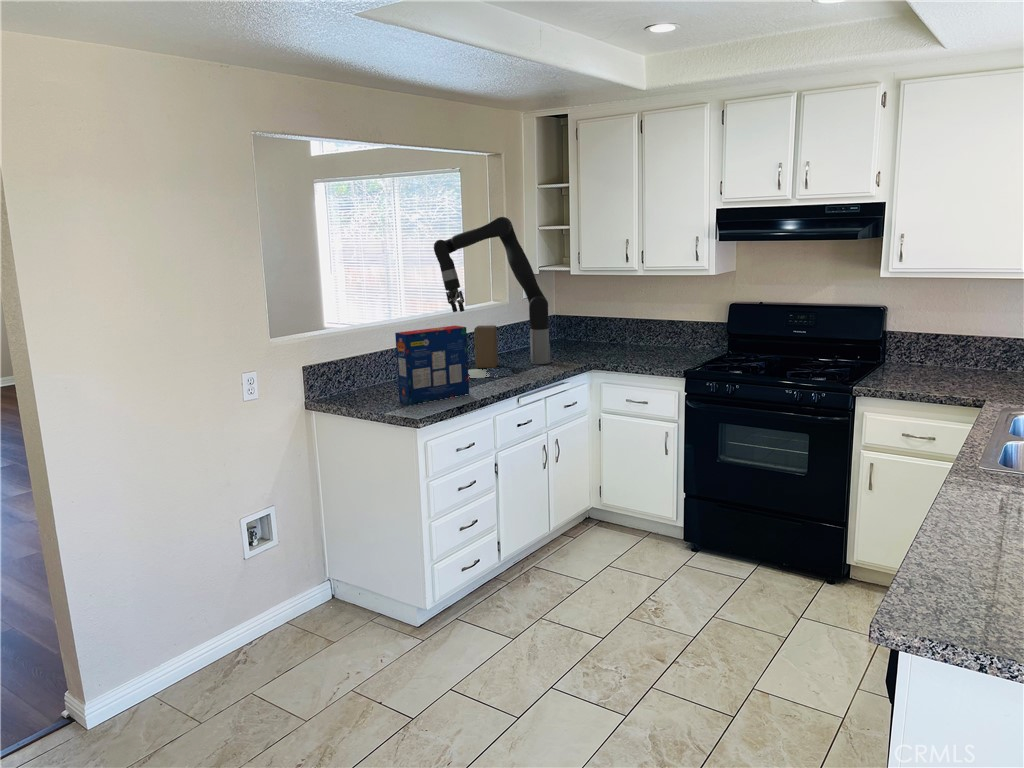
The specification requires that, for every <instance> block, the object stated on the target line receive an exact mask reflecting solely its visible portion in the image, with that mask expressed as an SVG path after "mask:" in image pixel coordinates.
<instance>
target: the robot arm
mask: <svg viewBox="0 0 1024 768" xmlns="http://www.w3.org/2000/svg"><path fill="white" fill-rule="evenodd" d="M493 238H499V239H500V241H501V243H502V245H503V247H504V248H505V254H506V257H507V261H508V264H509V267H510V269H511V271H512V274H513V275H514V277H515V279H516V280H517V282H518V284H519V285H520V286H521V288H522V289H523V291H524V293H525V295H526V298H527V300H528V303H529V304H528V310H529V311H528V312H529V313H528V314H529V316H528V317H529V333H530V334H529V340H530V364H532V365H546V364H551V344H550V339H549V338H550V336H549V334H550V333H549V327H550V326H549V322H550V321H549V301H548V300H547V298H546V296H545V295H544V294H543V292H542V290H541V288H540V286H539V285H538V282H537V279H536V276H535V272H534V271H533V268H532V266H531V264H530V262H529V260H528V258H527V256H526V254H525V252H524V250H523V248H522V246H521V244H520V242H519V240H518V238H517V235H516V232H515V229H514V226H513V224H512V221H511V220H510V219H509V218H507V217H505V216H500V217H496V218H495V219H494V220H492V221H490V222H489V223H487V224H485V225H483V226H480V227H478V228H474V229H470V230H466V231H463V232H461V233H458V234H454V235H453V236H452V237H451V238H448V239H444V240H443V239H438V240H436V241H435V242H434V243H433V252H434V255H435V257H436V260H437V262H438V264H439V268H440V272H441V277H442V282H443V285H444V290H445V295H446V299H447V303H448V305H449V304H450V305H451V309H452V312H453V313H457V312H458V309H459V312H461V313H462V312H464V311H465V307H464V303H465V299H464V298H465V297H464V295H463V294H464V293H463V292H462V290H459V288H461V284H460V280H459V276H458V273H457V271H456V270H457V269H456V267H455V264H454V260H453V259H452V257H451V255H450V254H452V253H454V252H456V251H457V250H461V249H464V248H467V247H469V246H472V245H474V244H477V243H479V242H482V241H485V240H487V239H493ZM456 302H457V304H456ZM457 305H458V306H457ZM457 307H458V308H457Z"/></svg>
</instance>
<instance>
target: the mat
mask: <svg viewBox="0 0 1024 768" xmlns="http://www.w3.org/2000/svg"><path fill="white" fill-rule="evenodd" d="M487 370H488V368H487ZM487 370H486V369H483V370H482V369H478V368H475V369H473V368H472V369H471V368H470V369H468V374H469V375H470V376H469V377H470V378H477V379H486V378H485V377H489V376H490V375H489V374H490V373H489V372H488V373H489V374H488V373H487V372H486V371H487ZM486 373H487V374H486ZM486 375H487V376H486ZM495 375H496V374H495ZM494 378H499V377H498V375H497V376H496V377H495V376H494Z"/></svg>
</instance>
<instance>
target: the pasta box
mask: <svg viewBox="0 0 1024 768" xmlns="http://www.w3.org/2000/svg"><path fill="white" fill-rule="evenodd" d="M467 332H468V331H467V327H466V326H461V325H451V326H440V327H434V328H433V327H432V328H431V327H430V328H426V329H425V328H424V329H415V330H407V331H400V332H399V331H398V332H394V335H395V351H396V352H395V353H396V365H397V366H396V367H397V383H398V395H399V397H398V398H399V403H400V402H401V404H403V403H404V405H406V404H407V405H406V406H409V405H411V406H414V405H413V404H416V405H419V404H418V403H422V404H424V403H423V402H427V403H430V402H429V401H433V402H435V401H434V400H438V401H441V400H440V399H443V400H446V399H445V398H449V399H451V398H450V397H454V398H456V397H455V396H460V395H465V394H469V395H470V384H469V383H470V382H469V380H470V379H469V377H468V370H469V356H468V336H467V335H468V333H467ZM465 396H466V395H465ZM460 397H461V396H460Z"/></svg>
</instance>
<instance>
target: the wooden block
mask: <svg viewBox="0 0 1024 768" xmlns="http://www.w3.org/2000/svg"><path fill="white" fill-rule="evenodd" d="M473 333H474V334H473V335H474V337H473V338H474V356H475V357H474V358H475V359H474V361H475V369H478V368H487V369H488V368H497V366H498V365H499V355H498V354H499V353H498V329H497V325H494V324H490V325H488V324H486V325H477V326H475V328H474V330H473Z"/></svg>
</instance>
